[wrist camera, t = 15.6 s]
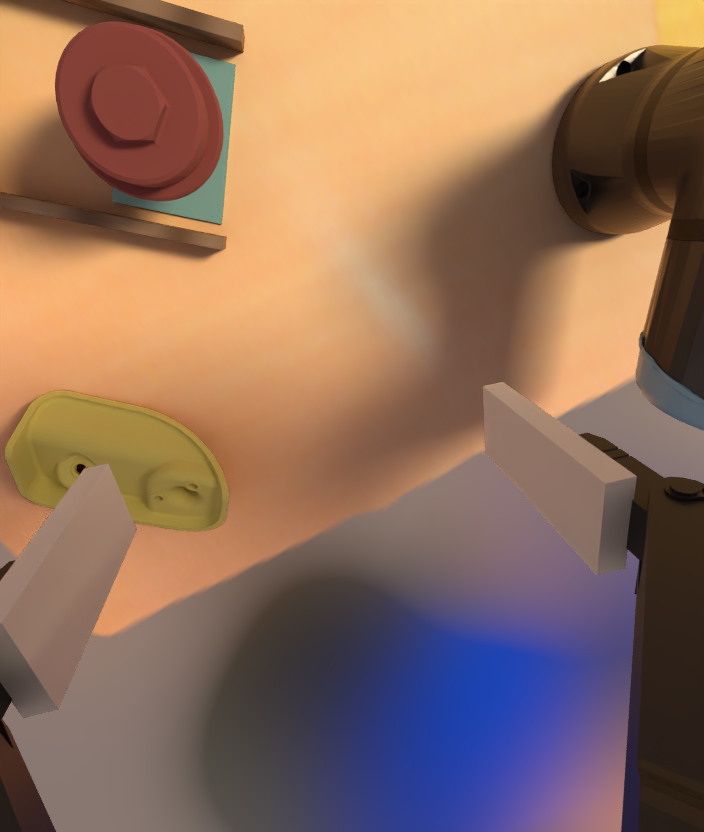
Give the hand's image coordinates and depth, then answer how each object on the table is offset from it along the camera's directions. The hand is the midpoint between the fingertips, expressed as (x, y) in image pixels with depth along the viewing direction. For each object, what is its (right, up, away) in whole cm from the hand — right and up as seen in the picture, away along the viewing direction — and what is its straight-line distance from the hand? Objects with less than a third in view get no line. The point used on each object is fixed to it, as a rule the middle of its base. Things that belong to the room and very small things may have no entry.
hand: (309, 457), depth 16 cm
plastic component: (-21, -3, +33) cm, 40 cm away
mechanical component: (-14, +25, +22) cm, 36 cm away
